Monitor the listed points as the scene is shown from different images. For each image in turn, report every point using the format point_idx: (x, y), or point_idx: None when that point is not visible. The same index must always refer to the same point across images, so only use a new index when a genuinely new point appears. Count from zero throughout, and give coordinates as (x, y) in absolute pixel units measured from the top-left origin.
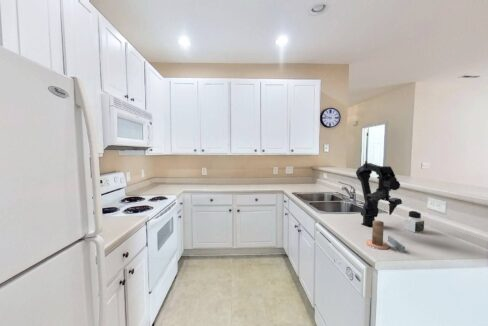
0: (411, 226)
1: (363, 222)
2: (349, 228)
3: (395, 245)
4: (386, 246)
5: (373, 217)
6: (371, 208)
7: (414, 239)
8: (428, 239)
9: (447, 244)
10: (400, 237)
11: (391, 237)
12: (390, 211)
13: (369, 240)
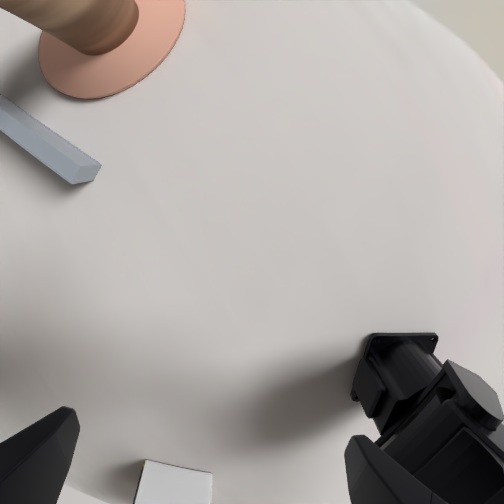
0: (163, 487)
1: (431, 355)
2: (447, 157)
3: (20, 112)
4: (49, 47)
5: (385, 422)
6: (436, 465)
7: (66, 364)
8: None
9: (5, 405)
10: (113, 331)
11: (49, 159)
12: (18, 436)
13: (171, 17)
